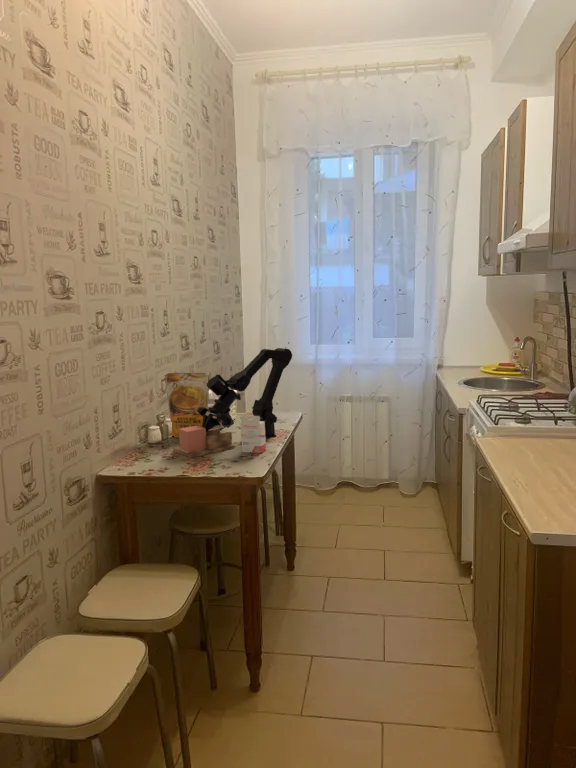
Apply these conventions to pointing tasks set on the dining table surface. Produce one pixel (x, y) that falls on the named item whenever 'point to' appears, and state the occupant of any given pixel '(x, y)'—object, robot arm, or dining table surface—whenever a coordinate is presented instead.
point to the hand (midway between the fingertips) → (202, 433)
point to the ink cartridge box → (253, 434)
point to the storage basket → (233, 407)
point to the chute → (211, 443)
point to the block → (192, 438)
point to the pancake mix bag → (186, 399)
